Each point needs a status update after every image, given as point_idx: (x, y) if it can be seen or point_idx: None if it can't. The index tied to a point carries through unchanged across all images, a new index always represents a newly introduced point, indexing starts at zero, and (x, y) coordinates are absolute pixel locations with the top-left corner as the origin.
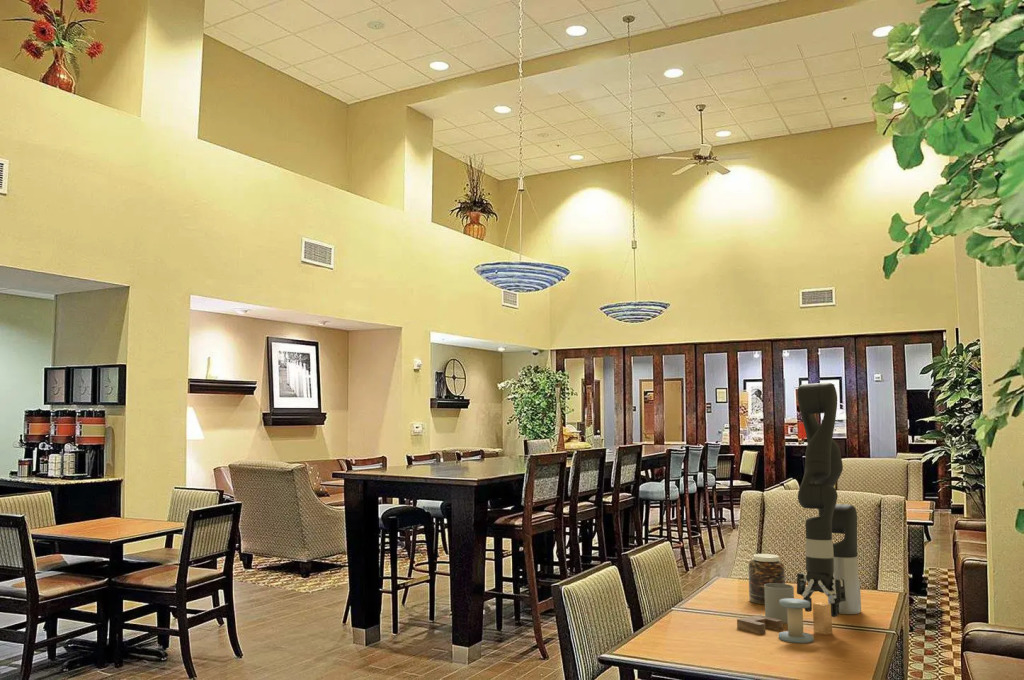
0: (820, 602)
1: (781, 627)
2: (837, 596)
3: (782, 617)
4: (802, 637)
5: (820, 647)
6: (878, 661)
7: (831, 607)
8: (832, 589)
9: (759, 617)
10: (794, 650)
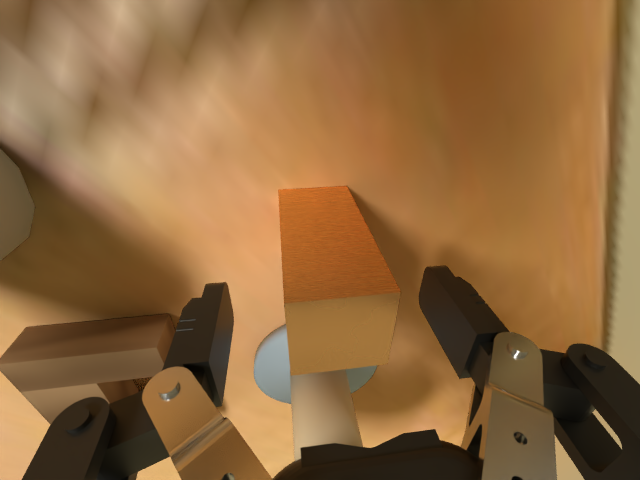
0: (298, 315)
1: (169, 327)
2: (571, 440)
3: (6, 252)
4: (351, 370)
5: (425, 358)
6: (605, 332)
7: (450, 351)
8: (526, 463)
9: (62, 389)
10: (390, 414)
